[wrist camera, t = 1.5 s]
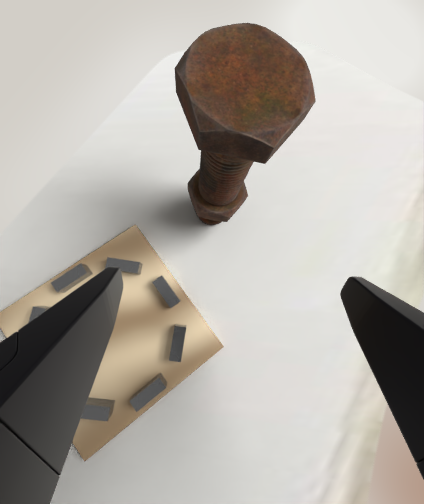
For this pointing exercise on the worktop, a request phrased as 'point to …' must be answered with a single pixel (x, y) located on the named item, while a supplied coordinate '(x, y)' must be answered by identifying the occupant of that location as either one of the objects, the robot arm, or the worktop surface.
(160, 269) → the tan flat square board
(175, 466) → the worktop surface
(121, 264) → the castellated ring
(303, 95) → the bolt
